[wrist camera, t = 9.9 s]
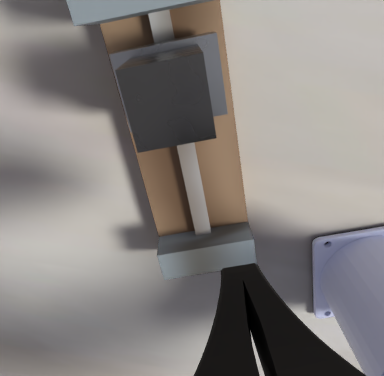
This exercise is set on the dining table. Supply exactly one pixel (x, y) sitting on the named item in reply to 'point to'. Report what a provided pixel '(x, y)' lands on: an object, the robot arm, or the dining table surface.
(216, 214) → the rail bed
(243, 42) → the dining table surface
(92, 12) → the cabinet
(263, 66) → the dining table surface
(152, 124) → the block
